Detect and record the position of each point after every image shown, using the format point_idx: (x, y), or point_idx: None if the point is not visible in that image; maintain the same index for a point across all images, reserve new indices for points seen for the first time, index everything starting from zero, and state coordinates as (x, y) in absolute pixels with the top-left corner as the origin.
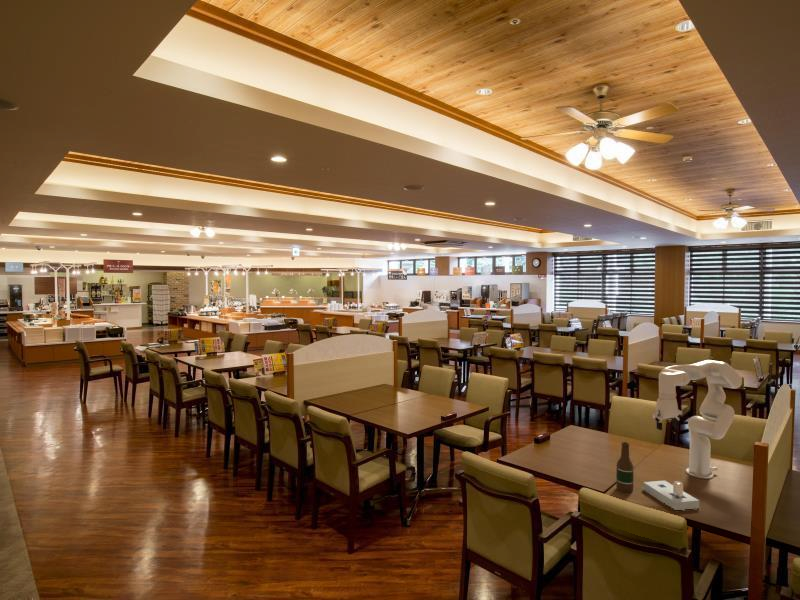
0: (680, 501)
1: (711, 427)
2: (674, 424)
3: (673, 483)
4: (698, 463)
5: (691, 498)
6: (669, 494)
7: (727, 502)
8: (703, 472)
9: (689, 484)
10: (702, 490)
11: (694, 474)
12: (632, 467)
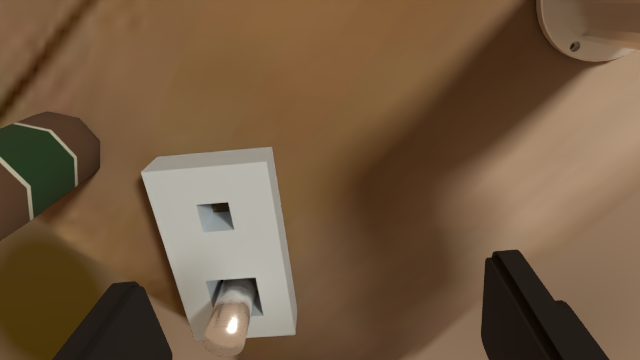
0: None
1: None
2: (505, 338)
3: (205, 332)
4: (619, 32)
5: (276, 320)
6: (205, 289)
7: (445, 278)
8: (601, 43)
9: (427, 116)
10: (436, 181)
11: (550, 20)
12: (8, 234)
